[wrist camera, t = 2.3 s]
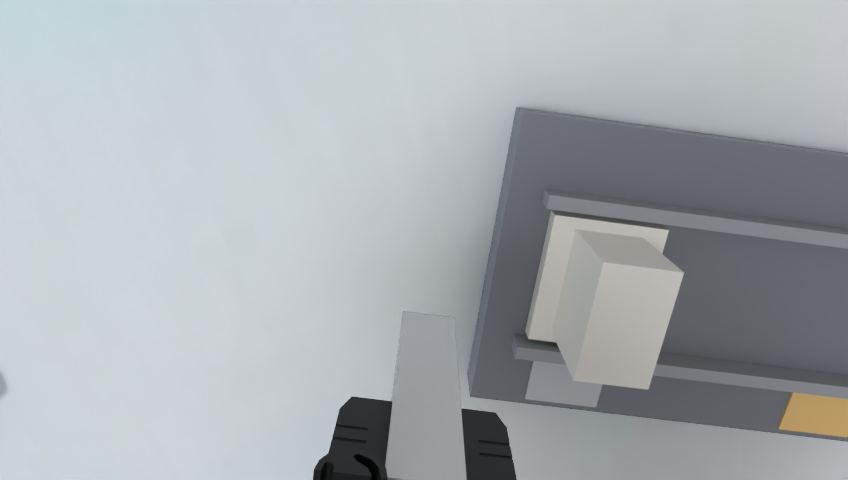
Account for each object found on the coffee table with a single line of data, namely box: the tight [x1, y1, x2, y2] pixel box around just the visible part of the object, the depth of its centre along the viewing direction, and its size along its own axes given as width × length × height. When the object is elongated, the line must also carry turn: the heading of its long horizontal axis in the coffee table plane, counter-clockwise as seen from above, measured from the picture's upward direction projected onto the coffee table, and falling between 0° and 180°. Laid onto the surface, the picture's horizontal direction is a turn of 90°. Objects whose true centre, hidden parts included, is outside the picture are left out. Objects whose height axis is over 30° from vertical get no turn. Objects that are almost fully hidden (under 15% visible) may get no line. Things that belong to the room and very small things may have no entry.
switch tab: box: [525, 210, 684, 390], centre depth 23 cm, size 6×5×5 cm
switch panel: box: [467, 108, 848, 441], centre depth 26 cm, size 14×22×3 cm, turn 82°
